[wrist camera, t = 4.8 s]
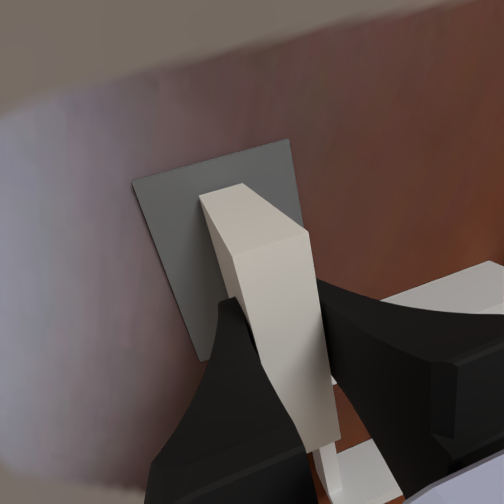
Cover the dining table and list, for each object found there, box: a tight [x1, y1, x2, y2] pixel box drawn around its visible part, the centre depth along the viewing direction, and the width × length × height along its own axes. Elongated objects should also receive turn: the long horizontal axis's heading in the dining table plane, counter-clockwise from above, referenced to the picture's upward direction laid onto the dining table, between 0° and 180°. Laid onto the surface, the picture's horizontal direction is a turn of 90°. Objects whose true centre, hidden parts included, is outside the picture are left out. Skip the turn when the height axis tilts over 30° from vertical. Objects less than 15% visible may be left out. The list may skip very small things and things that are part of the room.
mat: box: [132, 139, 304, 362], centre depth 16 cm, size 7×10×1 cm
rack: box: [312, 261, 504, 504], centre depth 21 cm, size 14×13×4 cm
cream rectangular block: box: [199, 183, 341, 453], centre depth 13 cm, size 2×8×7 cm, turn 13°
